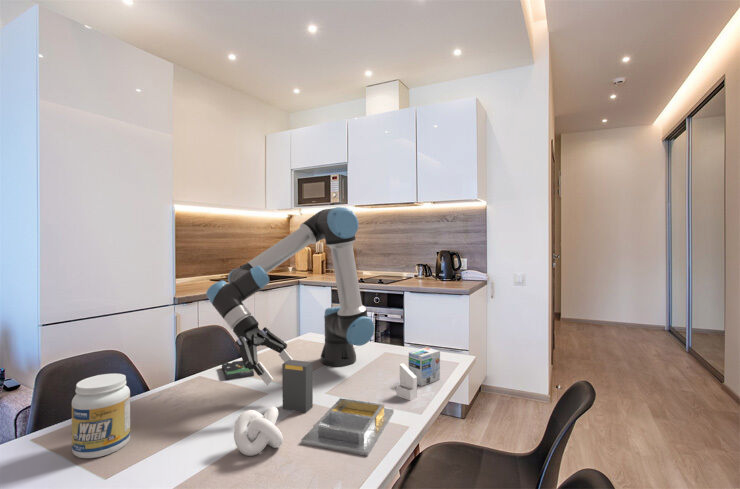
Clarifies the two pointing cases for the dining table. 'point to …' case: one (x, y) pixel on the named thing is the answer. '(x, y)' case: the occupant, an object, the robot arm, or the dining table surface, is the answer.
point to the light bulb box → (425, 365)
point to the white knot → (257, 431)
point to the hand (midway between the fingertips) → (282, 374)
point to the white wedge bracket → (407, 384)
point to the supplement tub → (100, 415)
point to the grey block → (297, 385)
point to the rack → (349, 427)
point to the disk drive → (236, 370)
